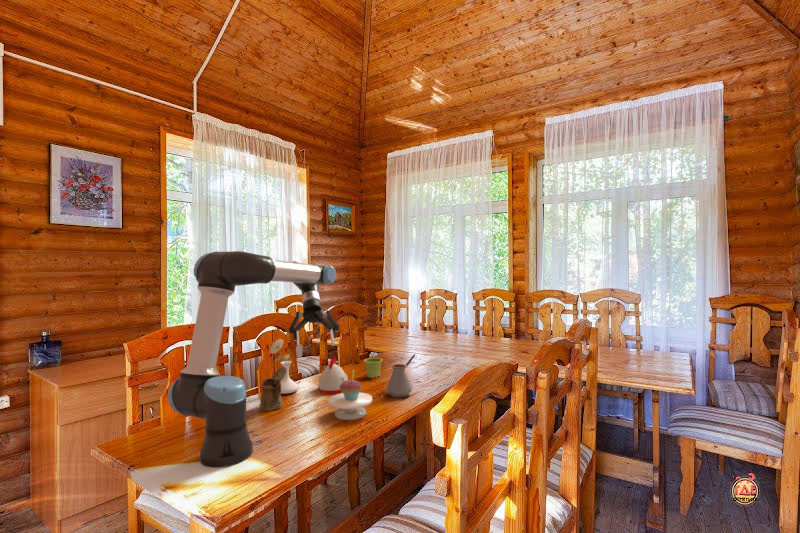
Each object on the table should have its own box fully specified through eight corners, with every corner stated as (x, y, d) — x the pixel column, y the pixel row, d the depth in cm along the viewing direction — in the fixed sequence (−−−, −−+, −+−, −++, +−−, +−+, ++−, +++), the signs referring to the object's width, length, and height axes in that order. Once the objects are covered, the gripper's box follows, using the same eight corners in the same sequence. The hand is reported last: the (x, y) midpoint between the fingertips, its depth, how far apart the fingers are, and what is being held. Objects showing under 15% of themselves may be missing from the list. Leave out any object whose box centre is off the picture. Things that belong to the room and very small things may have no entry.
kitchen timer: (351, 385, 198) (351, 354, 198) (343, 394, 185) (342, 361, 185) (324, 384, 201) (323, 353, 201) (313, 393, 187) (313, 360, 187)
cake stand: (360, 425, 149) (360, 408, 149) (319, 419, 155) (319, 403, 155) (379, 409, 165) (379, 394, 165) (342, 404, 171) (341, 390, 171)
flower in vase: (291, 386, 198) (290, 334, 198) (304, 391, 190) (302, 337, 190) (265, 393, 189) (264, 338, 189) (277, 398, 181) (276, 341, 181)
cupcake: (366, 398, 161) (365, 367, 160) (349, 404, 154) (349, 372, 154) (352, 393, 166) (351, 364, 166) (335, 399, 160) (334, 368, 160)
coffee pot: (404, 400, 175) (403, 365, 175) (381, 396, 181) (380, 362, 181) (426, 387, 194) (426, 355, 194) (405, 383, 199) (404, 352, 199)
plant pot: (382, 379, 208) (381, 362, 208) (363, 379, 208) (363, 362, 208) (383, 374, 217) (382, 357, 217) (365, 374, 218) (364, 358, 218)
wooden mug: (274, 415, 161) (273, 369, 161) (255, 408, 169) (254, 364, 169) (293, 409, 168) (292, 364, 167) (274, 402, 176) (273, 360, 176)
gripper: (339, 308, 185) (346, 348, 170) (281, 310, 177) (283, 352, 163) (341, 297, 180) (348, 337, 165) (281, 299, 172) (283, 341, 158)
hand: (316, 345), depth 164 cm, fingers open, 13 cm apart
